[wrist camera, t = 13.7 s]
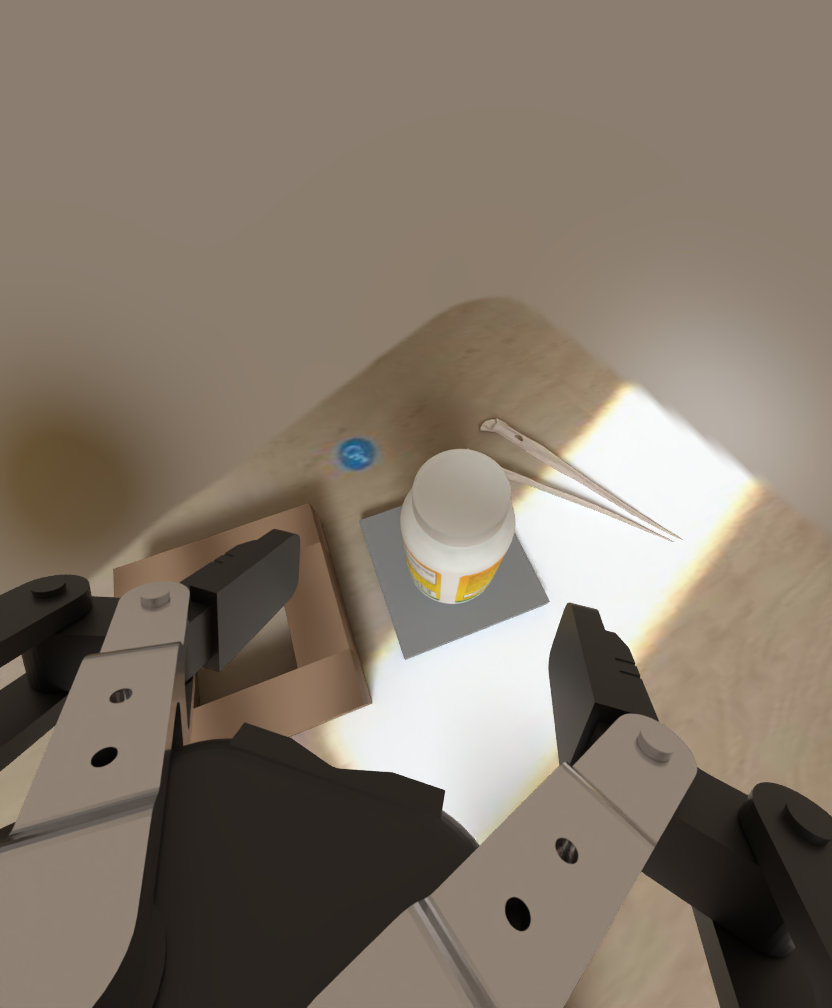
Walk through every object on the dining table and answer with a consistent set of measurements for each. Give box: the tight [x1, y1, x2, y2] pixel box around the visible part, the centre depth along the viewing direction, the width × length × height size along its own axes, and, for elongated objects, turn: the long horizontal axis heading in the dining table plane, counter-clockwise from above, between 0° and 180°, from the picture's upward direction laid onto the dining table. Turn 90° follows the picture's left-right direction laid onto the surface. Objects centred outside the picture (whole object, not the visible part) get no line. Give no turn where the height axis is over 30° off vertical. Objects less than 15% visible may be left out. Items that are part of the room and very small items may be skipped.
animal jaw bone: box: [466, 418, 683, 542], centre depth 27 cm, size 18×5×2 cm, turn 57°
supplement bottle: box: [400, 449, 515, 604], centre depth 20 cm, size 5×5×10 cm
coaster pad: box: [359, 505, 550, 660], centre depth 25 cm, size 9×9×1 cm
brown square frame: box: [113, 503, 372, 743], centre depth 23 cm, size 12×12×2 cm
